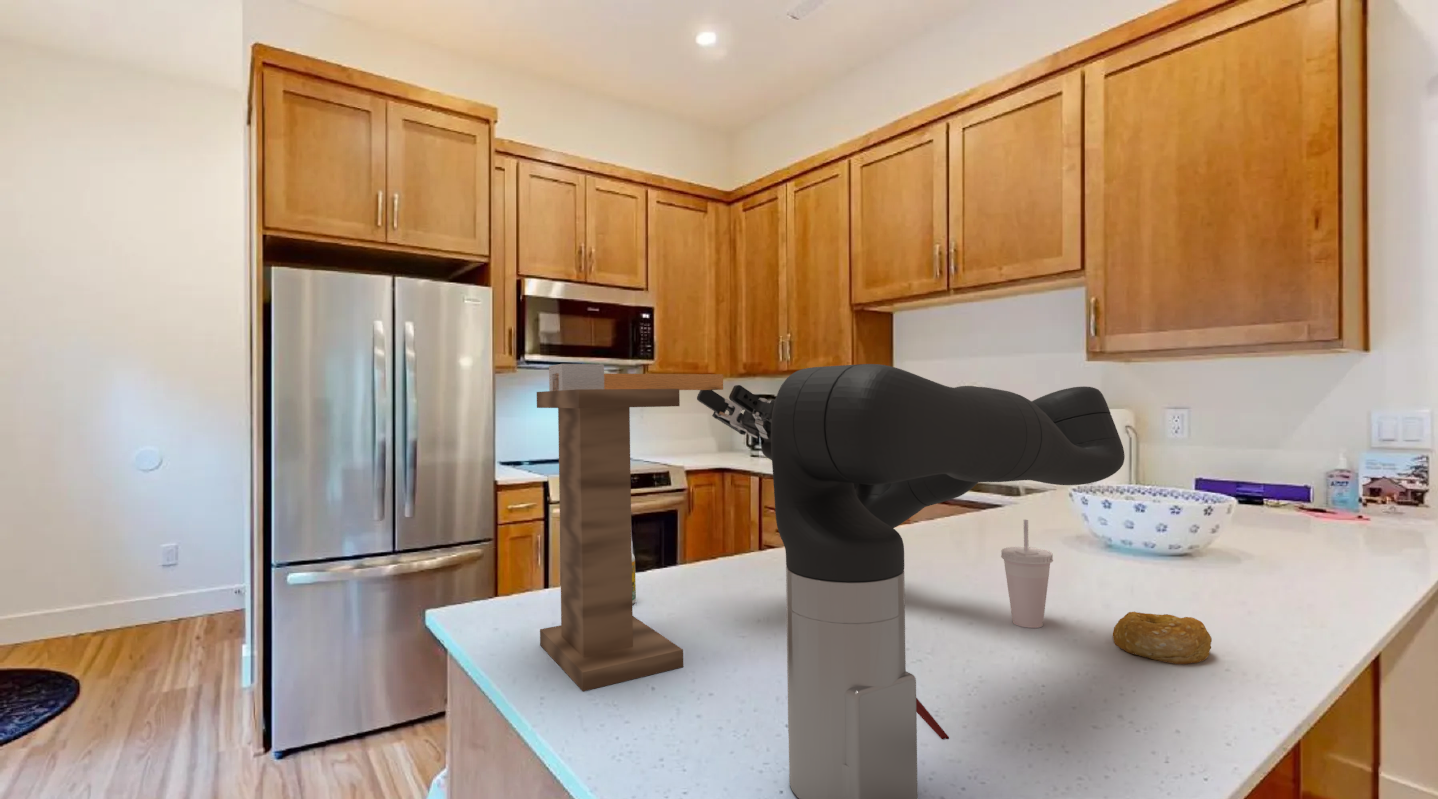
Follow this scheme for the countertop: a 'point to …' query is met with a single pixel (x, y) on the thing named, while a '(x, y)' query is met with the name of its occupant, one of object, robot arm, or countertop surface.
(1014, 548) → the smoothie
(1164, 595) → the countertop surface
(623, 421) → the wooden pedestal
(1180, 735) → the countertop surface
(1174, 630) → the bagel
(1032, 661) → the countertop surface
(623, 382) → the wooden handled hammer
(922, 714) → the chopstick
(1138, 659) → the countertop surface
